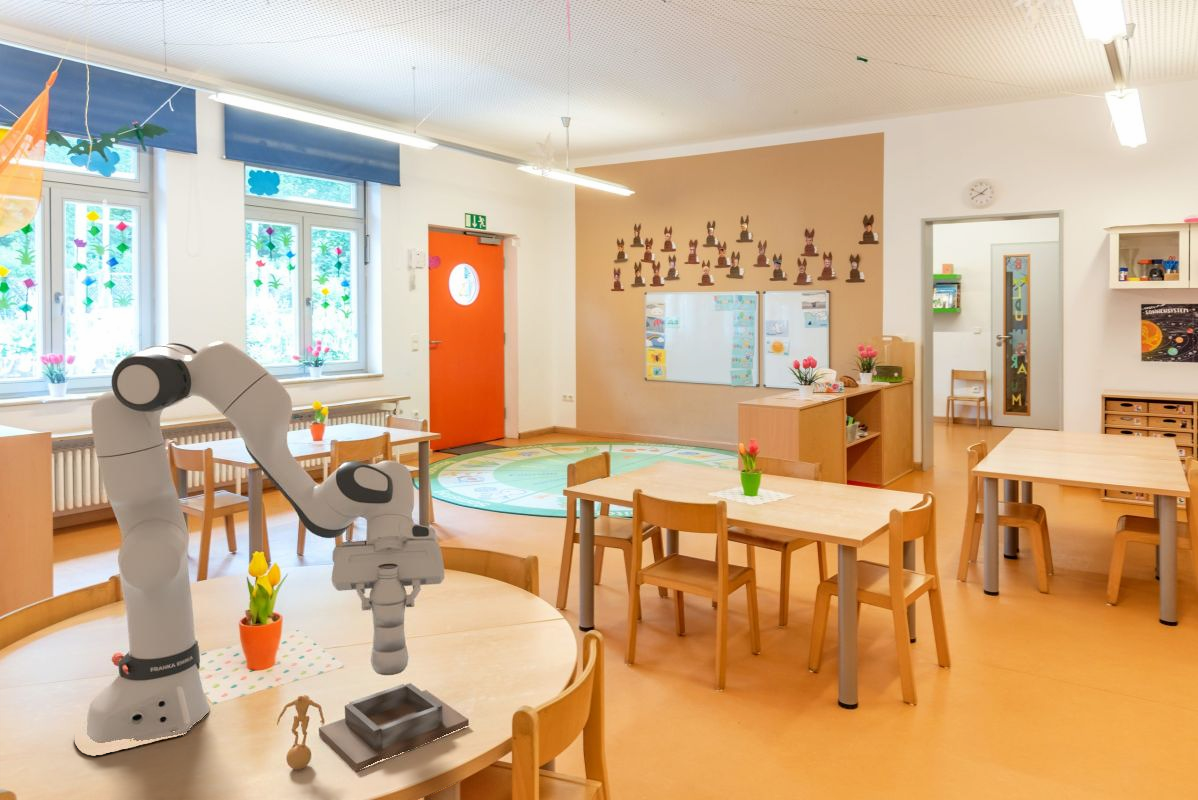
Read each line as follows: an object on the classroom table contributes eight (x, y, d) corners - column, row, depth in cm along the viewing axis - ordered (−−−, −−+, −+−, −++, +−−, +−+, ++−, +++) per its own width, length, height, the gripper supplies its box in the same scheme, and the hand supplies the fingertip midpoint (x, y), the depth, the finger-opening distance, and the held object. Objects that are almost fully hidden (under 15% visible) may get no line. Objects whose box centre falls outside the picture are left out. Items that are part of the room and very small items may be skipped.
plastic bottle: (399, 681, 148) (397, 573, 146) (364, 677, 149) (362, 570, 147) (414, 666, 154) (413, 562, 152) (380, 662, 156) (379, 559, 153)
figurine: (270, 773, 140) (266, 706, 138) (286, 754, 146) (282, 689, 144) (318, 774, 139) (314, 707, 138) (332, 755, 145) (328, 690, 144)
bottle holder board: (356, 771, 140) (355, 744, 139) (319, 735, 152) (317, 709, 151) (468, 727, 154) (467, 701, 154) (426, 696, 166) (425, 673, 166)
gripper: (331, 534, 154) (325, 604, 145) (443, 528, 157) (444, 595, 149) (335, 550, 159) (330, 619, 150) (444, 544, 162) (445, 610, 154)
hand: (388, 607), depth 150 cm, fingers closed on plastic bottle, 6 cm apart
